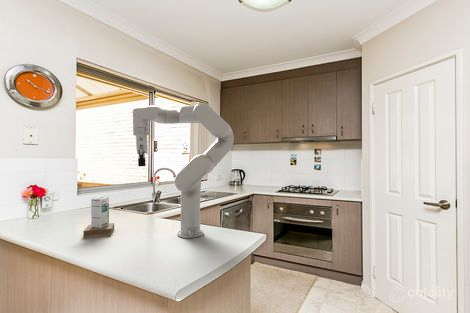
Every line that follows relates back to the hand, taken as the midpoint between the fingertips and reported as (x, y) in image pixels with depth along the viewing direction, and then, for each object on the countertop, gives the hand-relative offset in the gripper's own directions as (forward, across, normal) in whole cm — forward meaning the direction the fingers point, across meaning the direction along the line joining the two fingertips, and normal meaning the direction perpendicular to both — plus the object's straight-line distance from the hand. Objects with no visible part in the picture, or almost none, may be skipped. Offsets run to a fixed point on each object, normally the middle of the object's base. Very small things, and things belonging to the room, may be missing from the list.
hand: (142, 166), depth 130 cm
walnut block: (+34, +7, +21) cm, 40 cm away
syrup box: (+30, +7, +21) cm, 37 cm away
